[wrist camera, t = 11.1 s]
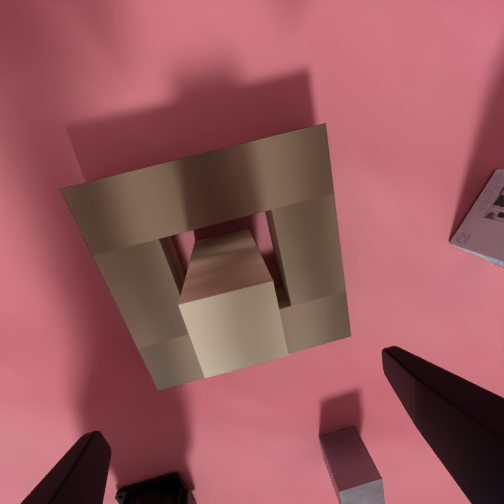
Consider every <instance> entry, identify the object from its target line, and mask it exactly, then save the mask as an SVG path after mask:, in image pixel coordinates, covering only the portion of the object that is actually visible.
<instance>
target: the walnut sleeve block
mask: <svg viewBox="0 0 504 504" xmlns="http://www.w3.org/2000/svg"><path fill="white" fill-rule="evenodd" d="M60 190H61V193H62V195H63V197H64V199H65V201H66V203H67V205H68V207H69V209H70V211H71V213H72V215H73V217H74V219H75V221H76V223H77V225H78V227H79V230H80V232H81V234H82V236H83V238H84V240H85V242H86V244H87V246H88V248H89V250H90V252H91V254H92V256H93V258H94V260H95V262H96V264H97V267H98V269H99V271H100V273H101V275H102V277H103V279H104V281H105V283H106V285H107V287H108V289H109V291H110V293H111V295H112V297H113V299H114V302H115V304H116V306H117V308H118V310H119V312H120V314H121V316H122V318H123V320H124V322H125V324H126V326H127V328H128V330H129V332H130V334H131V336H132V339H133V341H134V343H135V345H136V347H137V349H138V351H139V353H140V355H141V357H142V359H143V361H144V363H145V365H146V367H147V369H148V371H149V373H150V376H151V378H152V380H153V382H154V384H155V386H156V388H157V390H158V391H159V390H163V389H166V388H170V387H173V386H177V385H180V384H184V383H187V382H191V381H194V380H198V379H201V378H205V377H204V374H203V372H202V369H201V366H200V363H199V361H198V358H197V355H196V352H195V350H194V347H193V344H192V341H191V339H190V336H189V333H188V330H187V328H186V325H185V322H184V319H183V317H182V314H181V311H180V308H179V306H178V304H179V300H180V296H181V293H182V289H183V285H184V281H185V278H186V277H185V274H184V271H183V269H182V266H181V263H180V260H179V257H178V255H177V252H176V249H175V246H174V244H173V241H172V238H171V236H172V235H176V234H180V233H183V232H187V231H191V230H195V229H199V228H203V227H206V226H210V225H214V224H218V223H222V222H226V221H230V220H233V219H237V218H241V217H245V216H249V215H253V214H257V213H260V212H264V211H265V213H266V217H267V222H268V226H269V231H270V236H271V240H272V245H273V249H274V254H275V259H276V263H277V268H278V272H279V277H280V282H281V286H282V287H279V288H275V292H276V297H277V302H278V307H279V312H280V316H281V321H282V326H283V331H284V336H285V341H286V345H287V350H288V354H290V353H293V352H297V351H300V350H304V349H307V348H311V347H314V346H318V345H322V344H325V343H329V342H332V341H336V340H339V339H343V338H346V337H350V336H351V331H350V322H349V314H348V306H347V297H346V289H345V280H344V272H343V264H342V255H341V247H340V239H339V230H338V222H337V214H336V205H335V197H334V188H333V180H332V172H331V163H330V155H329V147H328V138H327V130H326V123H324V124H320V125H316V126H311V127H307V128H303V129H299V130H295V131H291V132H287V133H283V134H279V135H275V136H271V137H267V138H263V139H259V140H255V141H251V142H247V143H243V144H239V145H235V146H231V147H227V148H223V149H219V150H215V151H211V152H207V153H203V154H199V155H195V156H191V157H187V158H183V159H179V160H175V161H171V162H166V163H162V164H158V165H154V166H150V167H146V168H142V169H138V170H134V171H130V172H126V173H122V174H118V175H114V176H110V177H106V178H102V179H98V180H94V181H90V182H86V183H82V184H78V185H74V186H70V187H66V188H62V189H60Z"/></svg>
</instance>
